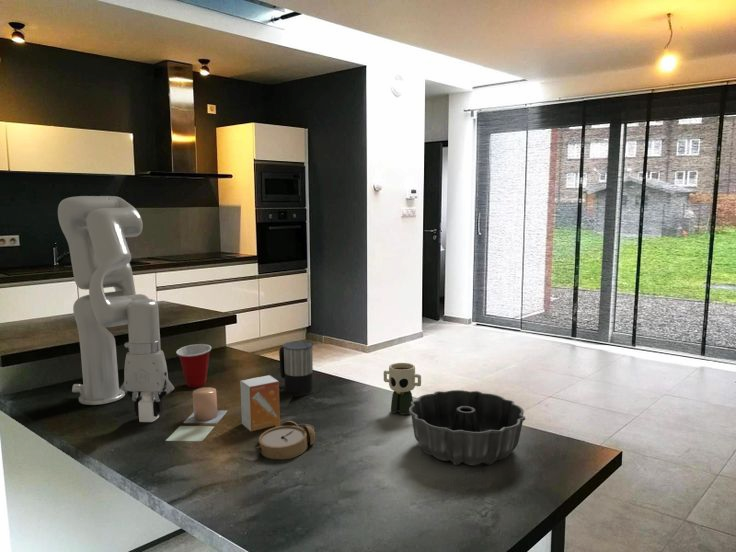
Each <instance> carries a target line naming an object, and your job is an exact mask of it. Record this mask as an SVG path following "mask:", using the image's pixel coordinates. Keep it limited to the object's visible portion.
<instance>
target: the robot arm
mask: <svg viewBox="0 0 736 552" xmlns="http://www.w3.org/2000/svg"><path fill="white" fill-rule="evenodd" d="M57 217H58V218H57V219H58V223H59V226H60V228H61V231H62V233H63V235H64V237H65V239H66V241H67V245H68V249H69V254H70V262H71V267H72V274H73V279H74V282H75V283H74V284H75V285H76V286H77V288H79V289H81V290H85V291H86V290H87V291H88V294H86V295H83V296H81V297H80V296H79V298H77V299H76V300H75V301H74V304H73V308H72V311H73V314H74V319H75V323H76V326H77V327H76V328H77V332H78V337H79V338H78V339H79V347H80V349H79V350H80V358H81V361H80V362H81V370H82V371H81V372H82V382H83V384H81V383H74V384H73V385H72V389H71V392H72V393H79V397H78V402H79V403H80V404H82V405H86V406H97V405H105V404H110V403H113V402H117V401H119V400H121V399H122V398H124V397H125V395H126V394H127V396H129V397H130V398H131V400H132V401H133V403H134V404H133V405H134V412H135V416H136V417H139V409H138V402H139V401H140V400H141V399H142V396H141V392H153V394H154V398H155V402H153V409H154V416H155V417H157V416H158V415H159V416H160V414H161V413H162V412H163V399H164V398H165V397H166V395H168V394H170V393H171V392H172V391H173V390H175V386H174V385H173V383H172V382H171V381H170V380H169V375H168V374H169V373H168V366H167V361H166V357H165V353H164V351H163V350H162V349H161V346H162V345H161V334H160V332H161V331H160V313H159V312H160V311H159V303H158V302H157V301H156V300H155V299H152V298H149V297H148V296H147V295H146V294H141V293H139V294H137V293H136V288H135V279H134V276H133V275H134V274H133V269H132V266H131V262H132V254H131V251H130V248H129V246H128V241H127V239H126V238H135V237H138V236H140V235H141V234H142V231H143V227H144V225H143V223H144V222H143V220H142V217H141V214H140V212H139V211H138V210H137V209H136V208H135V207H134V205H131V203H129V202H127V200H125V199H123V198H122V197H119V196H114V195H113V196H112V195H99V196H97V195H90V196H89V195H80V196H79V195H78V196H71V197H67V198H64V199H62V200H61V201H60V203H58V207H57ZM106 288H107V289H109V288H113V289H114V290H115V291H109V292H105V290H104V289H106ZM125 325H127V330H128V341H126V342H124V344H123V345H124V348H127V349H128V352H127V353H126V355H125V360H124V368H123V369H124V373H123V374H124V376H123V377H124V378H123V380H124V381H123V382H122V384H121V386H120V385H119V384H120V383H119V371H118V370H119V369H118V360H117V359H118V358H117V346H116V345H117V344H116V338H115V336H114V334H113V333H111V332H110V331H109V330H108V329H107V328H113V327H117V326H118V327H119V326H125ZM119 386H120V387H119ZM164 388H165V389H164ZM163 389H164V390H163Z"/></svg>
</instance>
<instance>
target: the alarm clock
mask: <svg viewBox="0 0 736 552" xmlns="http://www.w3.org/2000/svg"><path fill="white" fill-rule="evenodd" d="M317 435H318V434H317V432H315V427H314V426H313V425H311V424H308V423H299V424H298V423H296V422H295V421H294V420H293V421H292V420H287V421H286V420H285V422H283V423H282V424H281V425H280V426H278V427H275V426H273V427H272V428H269V429H267V430H265V431H264V432H262V433H261V434H260V436H259V437H258V443H259V446H256V447H255V448H256V449H259V448H261V450H259V453H260V454H261V455H262V456H263V457H265V458H268V459H271V460H289V459H293V458H296V457H298V456H301V455H302V454H303V453H305V452H306V451H307V449H308V445H309V446H312V445H313V444H314V443H315V441H316V436H317ZM308 443H309V444H308Z"/></svg>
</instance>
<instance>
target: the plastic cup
mask: <svg viewBox="0 0 736 552" xmlns="http://www.w3.org/2000/svg"><path fill="white" fill-rule="evenodd" d="M211 350H212V346H211V345H210V344H206V343H205V344H204V343H199V344H195V343H194V344H189V345H185V346H182V347H180V348H179V349H177V350H176V351H175V352H176V355H178V358H179V361H180V363H181V367H182V372H183V375H184V379H185V384H186V386H187V387H188V388H202V387H203V386H206V383H207V376H208V371H209V360H210V354H211Z"/></svg>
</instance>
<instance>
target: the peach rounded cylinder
mask: <svg viewBox="0 0 736 552" xmlns="http://www.w3.org/2000/svg"><path fill="white" fill-rule="evenodd" d="M217 397H218V395H217V389H216V388H215V387H210V386H209V387H199V388H197V389H195V390H193V391H192V402H193V403H192V405H193V406H192V407H193V412H194V419H195V420H198V421H207V420H212V419H214V418H216V417H217V416H218V413H217V410H218V398H217Z"/></svg>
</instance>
